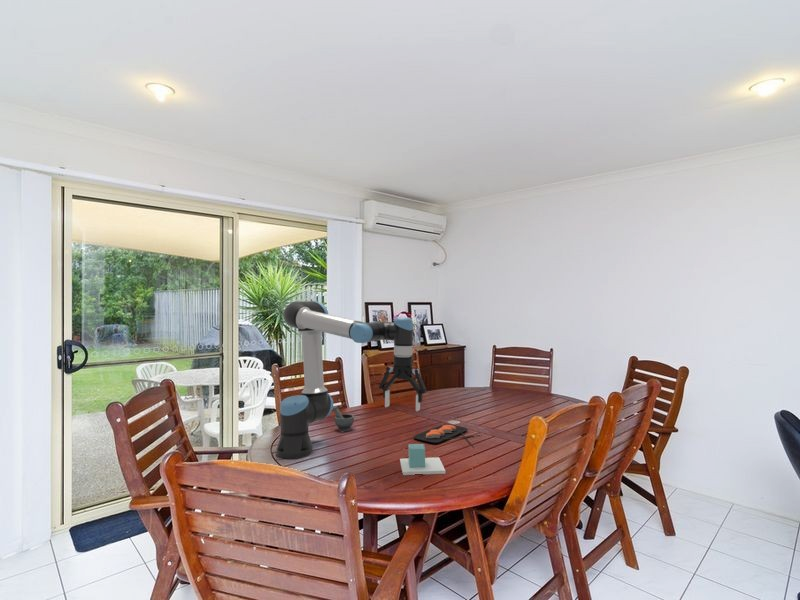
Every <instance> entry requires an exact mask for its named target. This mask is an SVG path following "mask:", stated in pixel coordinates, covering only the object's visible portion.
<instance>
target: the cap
mask: <svg viewBox="0 0 800 600" xmlns="http://www.w3.org/2000/svg"><path fill="white" fill-rule="evenodd" d="M407 451H408V452H407V453H408V455H407V456H408V458H409V468H412V467H425V458H426V447H425V443H408V450H407Z"/></svg>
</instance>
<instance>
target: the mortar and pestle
mask: <svg viewBox="0 0 800 600" xmlns="http://www.w3.org/2000/svg"><path fill="white" fill-rule="evenodd" d="M332 411H333V412H334V414H335V416H334V422H335V426H337V428H338V430H339V431H338V430H337V431H338V432H340V431H348V432H350V431H351V427H352V426H353V424H354V420H355V416H354V414H350V413H341V411H340V410H339V407H338V405H333V410H332ZM349 430H350V431H349Z"/></svg>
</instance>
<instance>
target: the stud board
mask: <svg viewBox="0 0 800 600" xmlns="http://www.w3.org/2000/svg"><path fill="white" fill-rule="evenodd" d="M399 462H400V463H399V465H400V468H401V473H403V474H402V476H410V475H411V476H416V475H415V474H423V475H445V474H446V469H445V467H444V465H443V462H442V461H441V459H440V457H439V456H437V457H425V467H412V468H409V457H406V458H399Z"/></svg>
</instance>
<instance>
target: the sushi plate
mask: <svg viewBox="0 0 800 600" xmlns="http://www.w3.org/2000/svg"><path fill="white" fill-rule="evenodd" d="M467 431H468V428H467V427H464V426H460V425H455V424H454V425H453V424H449V423H446V424H445V423H444V424H441V425H438V426H435V427H432V428H430V429H428V430H425V431H421V432H420V433H417V434H415V435H413V437H412V438H413V439H415V440H419V441H421V442H427V443H432V444H438V443H442V442H444V441H446V440H455V439H457V440H458V439H465V440H466V442H467V443H468V444H469V445H470V446H471V447H472V448H473V449H475V446H474V445H473V444H472V443H471V441H470V440H469V439H468V438H474V436H476V437H480V435H481V434H477V435H469V436H467V435H466V436H465V435H464V433H465V432H467ZM460 434H461V435H462V436H459V437H457V436H458V435H460ZM455 436H456V437H455Z"/></svg>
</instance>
